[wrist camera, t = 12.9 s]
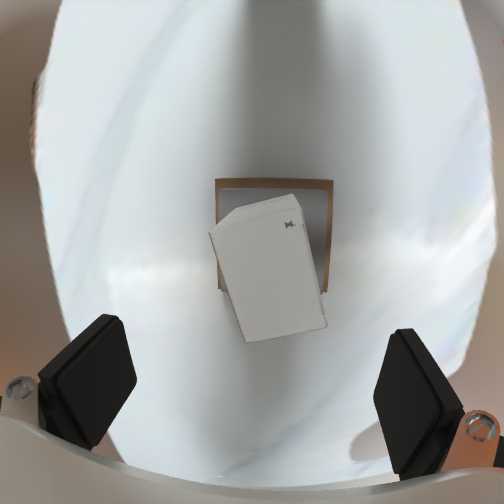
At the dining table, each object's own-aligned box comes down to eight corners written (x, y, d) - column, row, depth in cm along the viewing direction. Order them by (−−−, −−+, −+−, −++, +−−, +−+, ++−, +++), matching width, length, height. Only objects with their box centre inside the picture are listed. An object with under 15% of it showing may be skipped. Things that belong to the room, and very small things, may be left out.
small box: (234, 207, 27) (205, 228, 16) (294, 192, 26) (301, 203, 16) (257, 287, 28) (243, 346, 18) (313, 274, 27) (328, 329, 17)
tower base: (221, 178, 32) (207, 179, 26) (328, 179, 31) (339, 181, 25) (223, 279, 35) (212, 299, 29) (323, 282, 34) (330, 303, 28)
